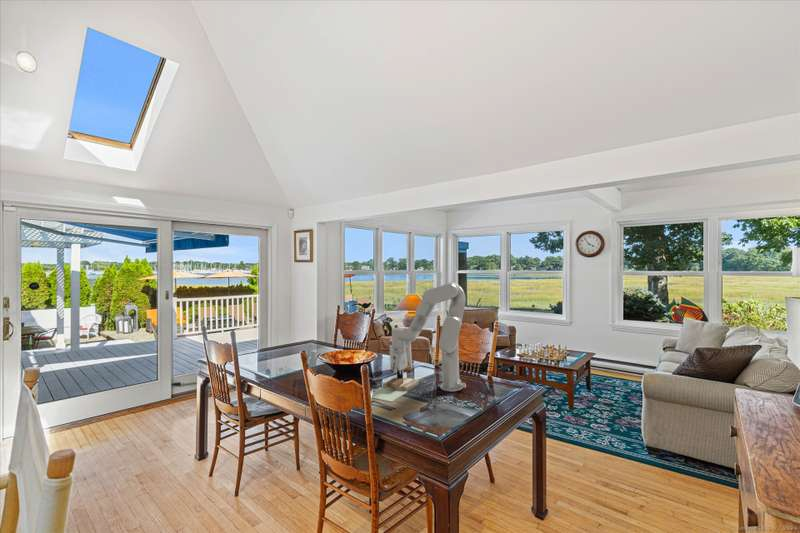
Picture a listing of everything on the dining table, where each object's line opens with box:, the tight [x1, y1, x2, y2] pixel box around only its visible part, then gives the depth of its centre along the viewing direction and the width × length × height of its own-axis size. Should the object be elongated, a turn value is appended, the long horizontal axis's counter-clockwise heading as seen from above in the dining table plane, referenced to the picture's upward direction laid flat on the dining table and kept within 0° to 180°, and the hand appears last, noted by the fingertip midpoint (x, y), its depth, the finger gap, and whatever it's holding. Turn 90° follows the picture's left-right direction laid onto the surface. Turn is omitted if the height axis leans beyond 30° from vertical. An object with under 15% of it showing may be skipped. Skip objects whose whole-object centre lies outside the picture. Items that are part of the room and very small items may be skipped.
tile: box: [386, 377, 403, 389], centre depth 215 cm, size 6×9×2 cm, turn 150°
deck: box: [382, 375, 420, 392], centre depth 221 cm, size 16×14×2 cm
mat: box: [371, 386, 408, 403], centre depth 208 cm, size 18×16×1 cm
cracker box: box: [388, 338, 413, 372], centre depth 253 cm, size 14×6×21 cm, turn 84°
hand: (400, 380), depth 220 cm, fingers closed
